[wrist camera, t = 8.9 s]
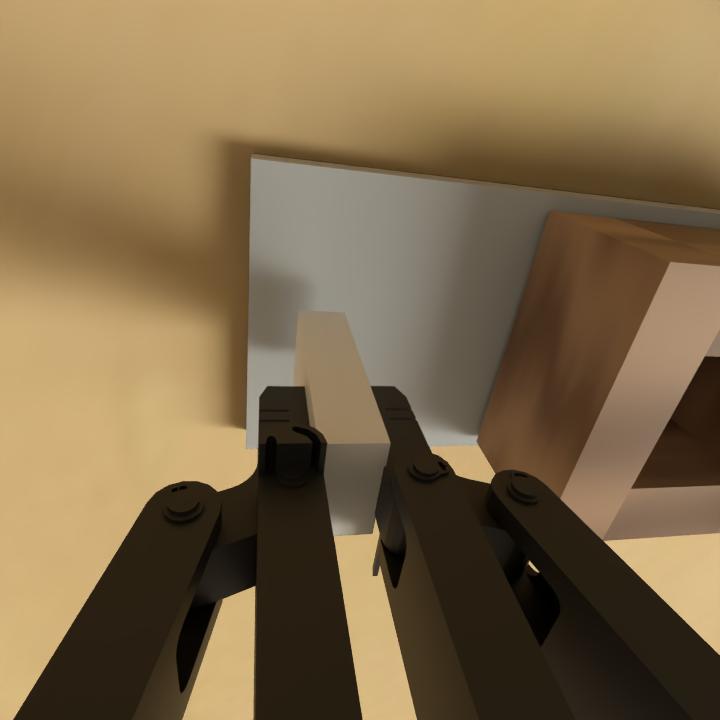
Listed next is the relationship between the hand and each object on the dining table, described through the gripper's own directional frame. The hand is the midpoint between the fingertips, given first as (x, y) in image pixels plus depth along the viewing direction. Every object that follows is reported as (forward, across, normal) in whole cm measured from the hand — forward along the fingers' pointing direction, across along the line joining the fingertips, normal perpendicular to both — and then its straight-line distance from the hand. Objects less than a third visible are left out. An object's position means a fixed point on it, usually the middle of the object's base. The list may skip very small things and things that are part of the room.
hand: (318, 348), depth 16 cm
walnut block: (+1, +13, 0) cm, 13 cm away
